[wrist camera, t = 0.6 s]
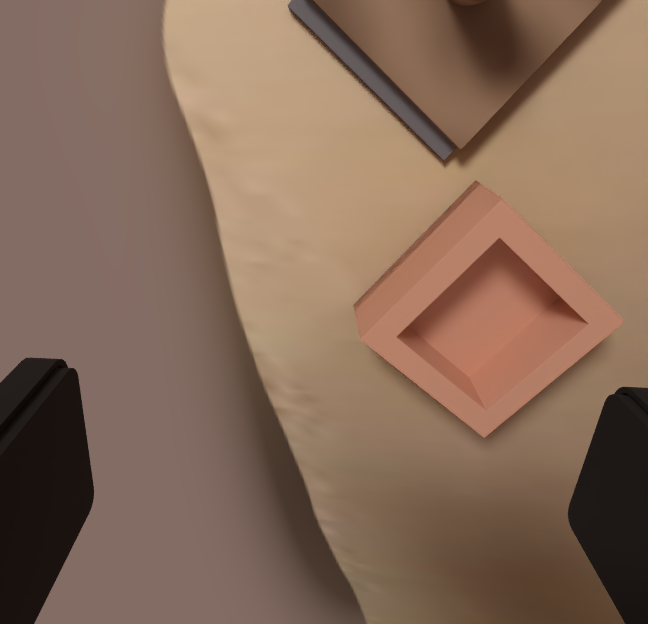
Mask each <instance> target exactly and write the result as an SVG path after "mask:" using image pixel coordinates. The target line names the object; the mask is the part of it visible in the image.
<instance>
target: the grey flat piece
mask: <svg viewBox="0 0 648 624" xmlns="http://www.w3.org/2000/svg"><path fill="white" fill-rule="evenodd" d="M288 7H289V8H290V9H291V10H292V11H293V12H294V13H295V14H296V15H297V16H298V17H299V18H300V19H301V20H302V21H303V22H304V23H305V24H306V25H307V26H308V27H309V28H310V29H311V30H312V31H313V32H314V33H315V34H316V35H317V36H318V37H319V38H320V39H321V40H322V41H323V42H324V43H325V44H326V45H327V46H328V47H329V48H330V49H331V50H332V51H333V52H334V53H335V54H336V55H337V56H338V57H339V58H340V59H341V60H342V61H343V62H344V63H345V64H346V65H347V66H348V67H349V68H350V69H351V70H352V71H353V72H354V73H355V74H356V75H357V76H358V77H359V78H360V79H361V80H362V81H363V82H364V83H365V84H366V85H367V86H368V87H369V88H370V89H371V90H372V91H373V92H375V93H376V94H377V95H378V96H379V97H380V98H381V99H382V100H383V101H384V102H385V103H386V104H387V105H388V106H389V107H390V108H391V109H392V110H393V111H394V112H395V113H396V114H397V115H398V116H399V117H400V118H401V119H402V120H403V121H404V122H405V123H406V124H407V125H408V126H409V127H410V128H411V129H412V130H413V131H414V132H415V133H416V134H417V135H418V136H419V137H420V138H421V139H422V140H423V141H424V142H425V143H426V144H427V145H428V146H429V147H430V148H431V149H432V150H433V151H434V152H435V153H436V154H437V155H438V156H439V157H440V158H441V159H442V160H445V159H446V158H447V157H448V156H449V155H450V154H451V153H452V152H453V151H454V149H455V148H456V146H455V145H454V144H453V143H452V142H451V141H450V140H449V139H448V138H447V137H446V136H445V135H444V134H443V133H442V132H441V131H440V130H439V129H438V128H437V127H436V126H435V125H434V124H433V123H432V122H431V121H430V120H429V119H428V118H427V117H426V116H425V115H424V114H423V113H422V112H421V111H420V110H419V109H418V108H417V107H416V106H415V105H414V104H413V103H412V102H411V101H410V100H409V99H408V98H407V97H406V96H405V95H404V94H403V93H402V92H401V91H400V90H399V89H398V88H397V87H396V86H395V85H394V84H393V83H392V82H391V81H390V80H389V79H388V78H387V77H386V76H385V75H384V74H383V73H382V72H381V71H380V70H379V69H378V68H377V67H376V66H375V65H374V63H373V62H372V61H371V60H370V59H369V58H368V57H367V56H366V55H365V54H364V53H363V52H362V51H361V50H360V49H359V48H358V47H357V46H356V45H355V44H354V43H353V42H352V41H351V40H350V39H349V38H348V37H347V36H346V35H345V34H344V33H343V32H342V31H341V30H340V29H339V28H338V27H337V26H336V25H335V24H334V23H333V22H332V21H331V20H330V19H329V18H328V17H327V16H326V15H325V14H324V13H323V12H322V11H321V10H320V9H319V8H318V7H317V6H316V5H315V4H314V3H313V2H312V1H311V0H292V1H291V2H290V3H289V5H288Z"/></svg>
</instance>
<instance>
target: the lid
mask: <svg viewBox="0 0 648 624" xmlns="http://www.w3.org/2000/svg"><path fill="white" fill-rule="evenodd" d="M311 1H312V2H313V3H314V4H315V5H316V6H317V7H318V8H319V9H320V10H321V11H322V12H323V13H324V14H325V15H326V16H327V17H328V18H329V19H330V20H331V21H332V22H333V23H334V24H335V25H336V26H337V27H338V28H339V29H340V30H341V31H342V32H343V33H344V34H345V35H346V36H347V37H348V38H349V39H350V40H351V41H352V42H353V43H354V44H355V45H356V46H357V47H358V48H359V49H360V50H361V51H362V52H363V53H364V54H365V55H366V56H367V57H368V58H369V59H370V60H371V61H372V62H373V63H374V65H375V66H376V67H377V68H378V69H379V70H380V71H381V72H382V73H383V74H384V75H385V76H386V77H387V78H388V79H389V80H390V81H391V82H392V83H393V84H394V85H395V86H396V87H397V88H398V89H399V90H400V91H401V92H402V93H403V94H404V95H405V96H406V97H407V98H408V99H409V100H410V101H411V102H412V103H413V104H414V105H415V106H416V107H417V108H418V109H419V110H420V111H421V112H422V113H423V114H424V115H425V116H426V117H427V118H428V119H429V120H430V121H431V122H432V123H433V124H434V125H435V126H436V127H437V128H438V129H439V130H440V131H441V132H442V133H443V134H444V135H445V136H446V137H447V138H448V139H449V140H450V141H451V142H452V143H453V144H454V145H455V146H456V147H457V148H459V149H460V150H461V149H462V148H463V147H464V146H465V145H466V144H467V143H468V142H469V141H470V140H471V138H472V137H473V136H474V135H475V134H476V133H477V132H478V131H479V130H480V129H481V128H482V127H483V126H484V125H485V124H486V123H487V122H488V121H489V119H490V118H491V117H492V116H493V115H494V114H495V113H496V112H497V111H498V110H499V109H500V108H501V107H502V106H503V105H504V104H505V103H506V102H507V100H508V99H509V98H510V97H511V96H512V95H513V94H514V93H515V92H516V91H517V90H518V89H519V88H520V87H521V86H522V85H523V84H524V82H525V81H526V80H527V79H528V78H529V77H530V76H531V75H532V74H533V73H534V72H535V71H536V70H537V69H538V68H539V67H540V66H541V65H542V63H543V62H544V61H545V60H546V59H547V58H548V57H549V56H550V55H551V54H552V53H553V52H554V51H555V50H556V49H557V48H558V47H559V46H560V44H561V43H562V42H563V41H564V40H565V39H566V38H567V37H568V36H569V35H570V34H571V33H572V32H573V31H574V30H575V29H576V28H577V27H578V25H579V24H580V23H581V22H582V21H583V20H584V19H585V18H586V17H587V16H588V15H589V14H590V13H591V12H592V11H593V10H594V9H595V7H596V6H597V5H598V4H599V3H600V2H601V1H602V0H311Z"/></svg>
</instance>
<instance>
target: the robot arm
mask: <svg viewBox="0 0 648 624" xmlns="http://www.w3.org/2000/svg"><path fill="white" fill-rule="evenodd" d="M93 498H94V486H93V480H92V472H91V465H90V458H89V450H88V443H87V436H86V429H85V422H84V415H83V408H82V400H81V393H80V386H79V379H78V374H77V371H76V370H75V369H74V368H68V366H67V364H66V362H65V361H64V360H62V359H46V358H25V359H24V360H23V361H21V362H20V363H19V364H18V365H17V366H16V367H15V368H14V370H13V371H11V373H10V374H9V375H8V376H7V377H6V378H5V379H4V380H3V381H2V382H1V383H0V624H34V623H35V621H36V619H37V617H38V615H39V613H40V611H41V609H42V607H43V605H44V603H45V601H46V598H47V597H48V595H49V593H50V591H51V588H52V587H53V584H54V583H55V581H56V579H57V577H58V575H59V572H60V570H61V569H62V566H63V564H64V562H65V560H66V558H67V556H68V555H69V552H70V551H71V548H72V546H73V544H74V542H75V540H76V538H77V536H78V534H79V532H80V530H81V528H82V526H83V524H84V522H85V520H86V518H87V516H88V514H89V512H90V510H91V507H92V503H93ZM568 518H569V523H570V526H571V528H572V530H573V532H574V534H575V536H576V537H577V539H578V541H579V543H580V544H581V546H582V548H583V550H584V551H585V553H586V555H587V557H588V559H589V560H590V562H591V564H592V566H593V567H594V569H595V571H596V573H597V574H598V576H599V578H600V580H601V581H602V583H603V585H604V587H605V588H606V590H607V592H608V594H609V595H610V597H611V599H612V601H613V603H614V604H615V606H616V608H617V610H618V611H619V613H620V615H621V617H622V618H623V620H624V622H625V624H648V388H637V387H622V388H619V389H618V390H617V391H616V392H615V394H612V395H609V396H608V397H607V399H606V401H605V403H604V406H603V409H602V412H601V415H600V417H599V420H598V423H597V426H596V429H595V432H594V435H593V438H592V441H591V444H590V447H589V449H588V452H587V455H586V458H585V461H584V464H583V467H582V470H581V473H580V476H579V479H578V481H577V484H576V487H575V490H574V493H573V496H572V499H571V502H570V505H569V509H568Z"/></svg>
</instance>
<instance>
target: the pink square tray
mask: <svg viewBox="0 0 648 624" xmlns="http://www.w3.org/2000/svg"><path fill="white" fill-rule="evenodd" d="M354 309H355V315H356V320H357V325H358V331H359V336H360V340H362V341H363V342H364V343H365V344H367V345H368V346H369V347H370V348H372V349H373V350H374V351H375V352H377V353H378V354H379V355H380V356H382V357H383V358H384V359H386V360H387V361H388V362H389V363H391V364H392V365H393V366H394V367H396V368H397V369H398V370H399V371H401V372H402V373H403V374H404V375H406V376H407V377H408V378H409V379H411V380H412V381H413V382H414V383H416V384H417V385H418V386H420V387H421V388H422V389H423V390H425V391H426V392H427V393H428V394H430V395H431V396H432V397H433V398H435V399H436V400H437V401H438V402H440V403H441V404H442V405H443V406H445V407H446V408H447V409H448V410H450V411H451V412H452V413H453V414H455V415H456V416H457V417H459V418H460V419H461V420H462V421H464V422H465V423H466V424H467V425H469V426H470V427H471V428H472V429H474V430H475V431H476V432H477V433H479V434H480V435H481V436H482V437H484V438H485V437H486V436H487V435H488V434H489V433H491V432H492V431H493V430H494V429H495V428H497V427H498V426H499V425H500V424H502V423H503V422H504V421H505V420H506V419H508V418H509V417H510V416H511V415H512V414H514V413H515V412H516V411H517V410H519V409H520V408H521V407H522V406H523V405H525V404H526V403H527V402H528V401H529V400H531V399H532V398H533V397H534V396H535V395H537V394H538V393H539V392H540V391H542V390H543V389H544V388H545V387H546V386H548V385H549V384H550V383H551V382H552V381H554V380H555V379H556V378H557V377H558V376H560V375H561V374H562V373H563V372H565V371H566V370H567V369H568V368H569V367H571V366H572V365H573V364H574V363H575V362H577V361H578V360H579V359H580V358H582V357H583V356H584V355H585V354H586V353H588V352H589V351H590V350H591V349H592V348H594V347H595V346H596V345H597V344H598V343H600V342H601V341H602V340H603V339H605V338H606V337H607V336H608V335H609V334H611V333H612V332H613V331H614V330H615V329H617V328H618V327H619V326H620V325H621V324H623V323H624V322H625V321H624V320H623V319H622V318H621V317H620V316H619V315H618V314H617V313H616V312H615V311H614V310H613V309H612V308H611V307H610V306H609V305H608V304H607V303H606V302H605V301H604V300H603V299H602V298H601V297H600V296H599V295H598V294H597V293H596V292H595V291H594V290H593V289H592V288H591V287H590V286H589V285H588V284H587V283H586V282H585V281H584V280H583V279H582V278H581V277H580V276H579V275H578V274H577V273H576V272H575V271H574V270H573V269H572V268H571V267H570V266H569V265H568V264H567V263H566V262H565V261H564V260H563V259H562V258H561V257H560V256H559V255H558V254H557V253H556V252H555V251H554V250H553V249H552V248H551V247H550V246H549V245H548V244H547V243H546V242H545V241H544V240H543V239H542V238H541V237H540V236H539V235H538V234H537V233H536V232H535V231H534V230H533V229H532V228H531V227H530V226H529V224H528V223H527V222H526V221H525V220H524V219H523V218H522V217H521V216H520V215H519V214H518V213H517V212H516V211H515V210H514V209H513V208H512V207H511V206H510V205H509V204H508V203H507V202H506V201H505V200H504V199H503V198H501V197H500V196H498V195H497V194H495V193H494V192H492V191H491V190H489V189H488V188H486V187H485V186H483V185H482V184H480V183H479V182H477V181H475V182H474V183H473V184H472V185H471V186H470V187H469V188H468V189H467V190H466V191H465V192H464V193H463V194H462V195H461V196H460V197H459V198H458V199H457V200H456V201H455V202H454V203H453V204H452V205H451V206H450V207H449V208H448V209H447V210H446V211H445V212H444V213H443V214H442V215H441V216H440V217H439V218H438V219H437V220H436V221H435V222H434V224H433V225H432V226H431V227H430V228H429V229H428V230H427V231H426V232H425V233H424V234H423V235H422V236H421V237H420V238H419V239H418V240H417V241H416V242H415V243H414V244H413V245H412V246H411V247H410V248H409V249H408V250H407V251H406V252H405V253H404V254H403V255H402V256H401V257H400V258H399V259H398V260H397V261H396V262H395V263H394V264H393V265H392V266H391V267H390V268H389V270H388V271H387V272H386V273H385V274H384V275H383V276H382V277H381V278H380V279H379V280H378V281H377V282H376V283H375V284H374V285H373V286H372V287H371V288H370V289H369V290H368V291H367V292H366V293H365V294H364V295H363V296H362V297H361V298H360V299H359V300H358V301H357V302H356V303H355V304H354Z"/></svg>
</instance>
